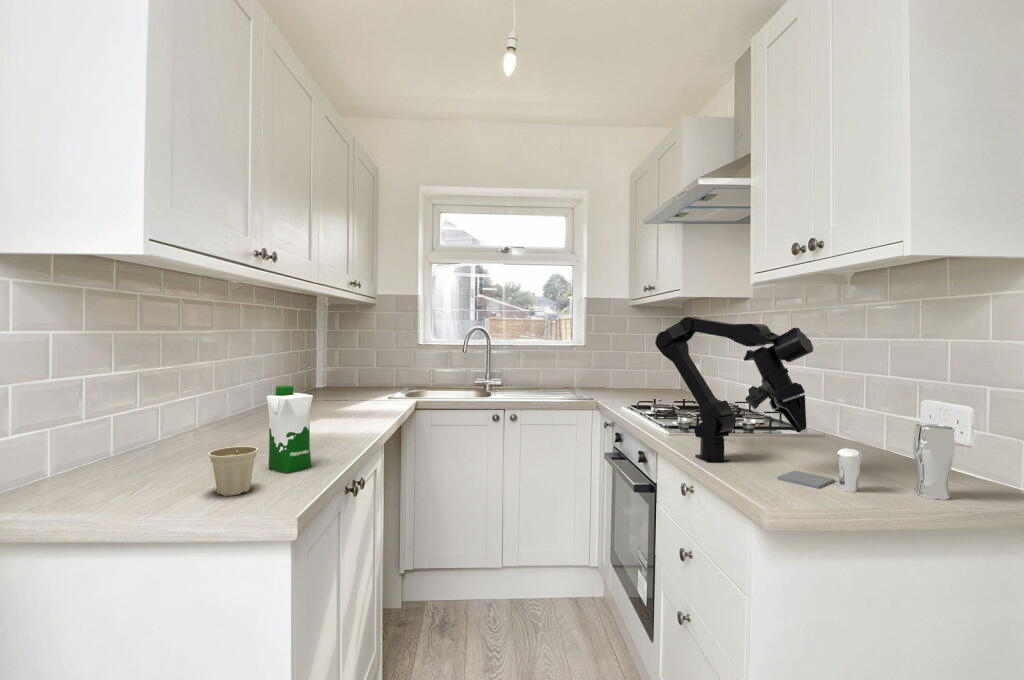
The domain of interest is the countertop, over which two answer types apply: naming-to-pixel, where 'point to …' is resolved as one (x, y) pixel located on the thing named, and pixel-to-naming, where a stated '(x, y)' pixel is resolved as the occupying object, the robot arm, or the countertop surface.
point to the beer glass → (933, 459)
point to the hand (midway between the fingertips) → (801, 430)
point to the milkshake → (849, 469)
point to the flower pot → (233, 469)
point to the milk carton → (289, 430)
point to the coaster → (806, 479)
